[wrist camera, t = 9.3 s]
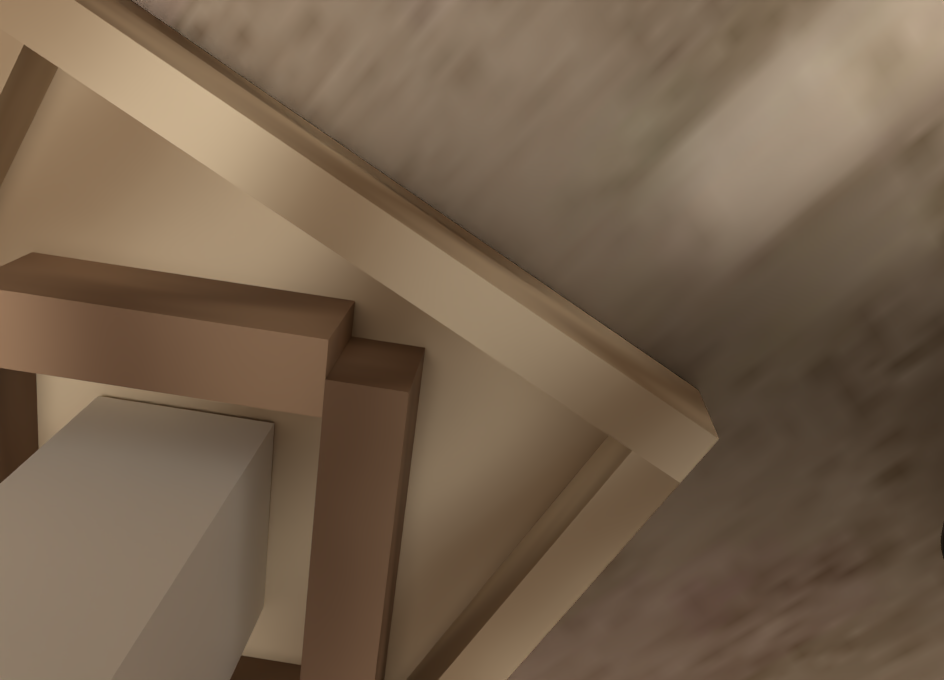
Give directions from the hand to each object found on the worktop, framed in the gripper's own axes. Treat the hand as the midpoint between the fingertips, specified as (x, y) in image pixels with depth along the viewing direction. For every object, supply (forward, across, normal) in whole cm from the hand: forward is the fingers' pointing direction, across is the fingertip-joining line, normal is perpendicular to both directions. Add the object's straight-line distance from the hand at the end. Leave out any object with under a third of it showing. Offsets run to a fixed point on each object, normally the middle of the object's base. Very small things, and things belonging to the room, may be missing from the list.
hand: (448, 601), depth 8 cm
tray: (+12, +6, +8) cm, 16 cm away
